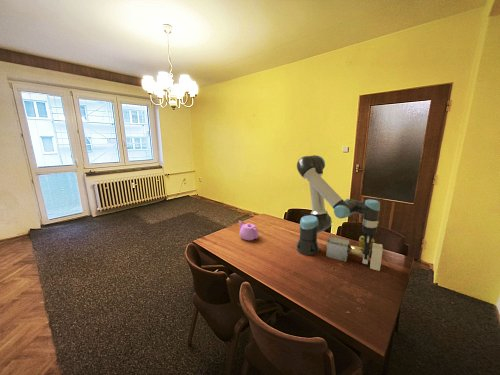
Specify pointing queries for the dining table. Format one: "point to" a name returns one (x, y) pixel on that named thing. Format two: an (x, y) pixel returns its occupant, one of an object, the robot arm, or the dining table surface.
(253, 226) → the teapot
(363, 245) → the mug
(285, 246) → the dining table surface
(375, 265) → the socket block
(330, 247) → the pale grey box
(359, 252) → the tube
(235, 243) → the dining table surface
